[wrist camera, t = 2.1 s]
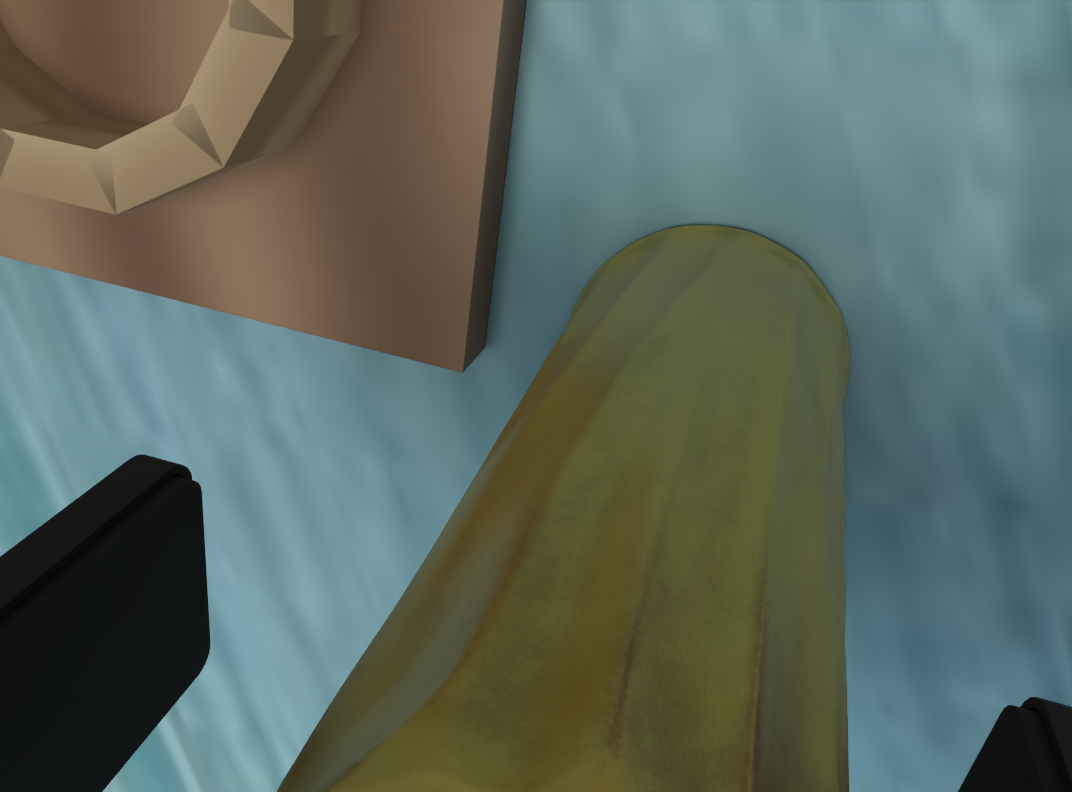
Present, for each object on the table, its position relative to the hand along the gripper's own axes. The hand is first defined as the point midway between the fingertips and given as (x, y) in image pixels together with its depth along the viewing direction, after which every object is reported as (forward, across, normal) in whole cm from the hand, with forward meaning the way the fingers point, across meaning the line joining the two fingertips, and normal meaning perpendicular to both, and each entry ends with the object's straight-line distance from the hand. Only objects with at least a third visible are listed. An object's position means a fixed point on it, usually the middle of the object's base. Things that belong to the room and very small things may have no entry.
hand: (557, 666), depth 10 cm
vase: (+11, -1, 0) cm, 11 cm away
